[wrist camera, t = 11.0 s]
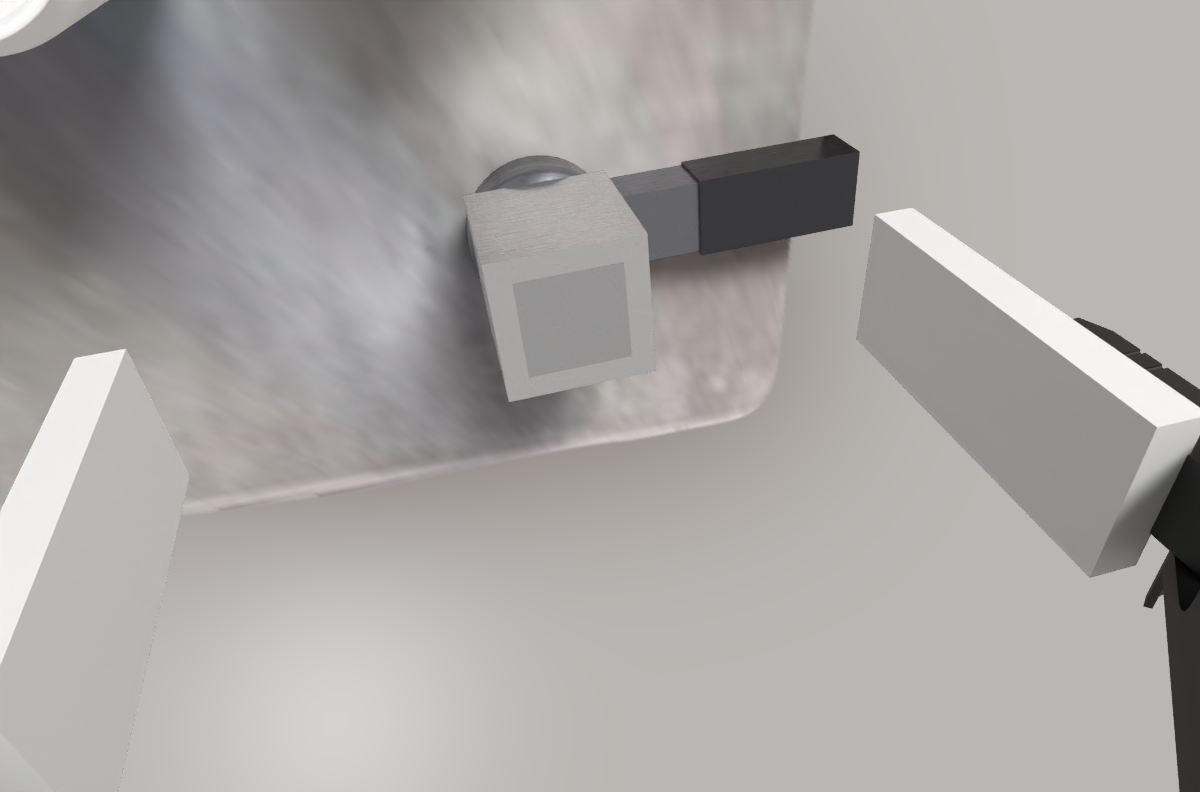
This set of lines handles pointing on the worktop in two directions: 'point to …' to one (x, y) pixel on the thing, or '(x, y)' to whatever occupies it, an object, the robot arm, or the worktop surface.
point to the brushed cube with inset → (563, 283)
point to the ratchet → (722, 195)
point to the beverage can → (38, 21)
